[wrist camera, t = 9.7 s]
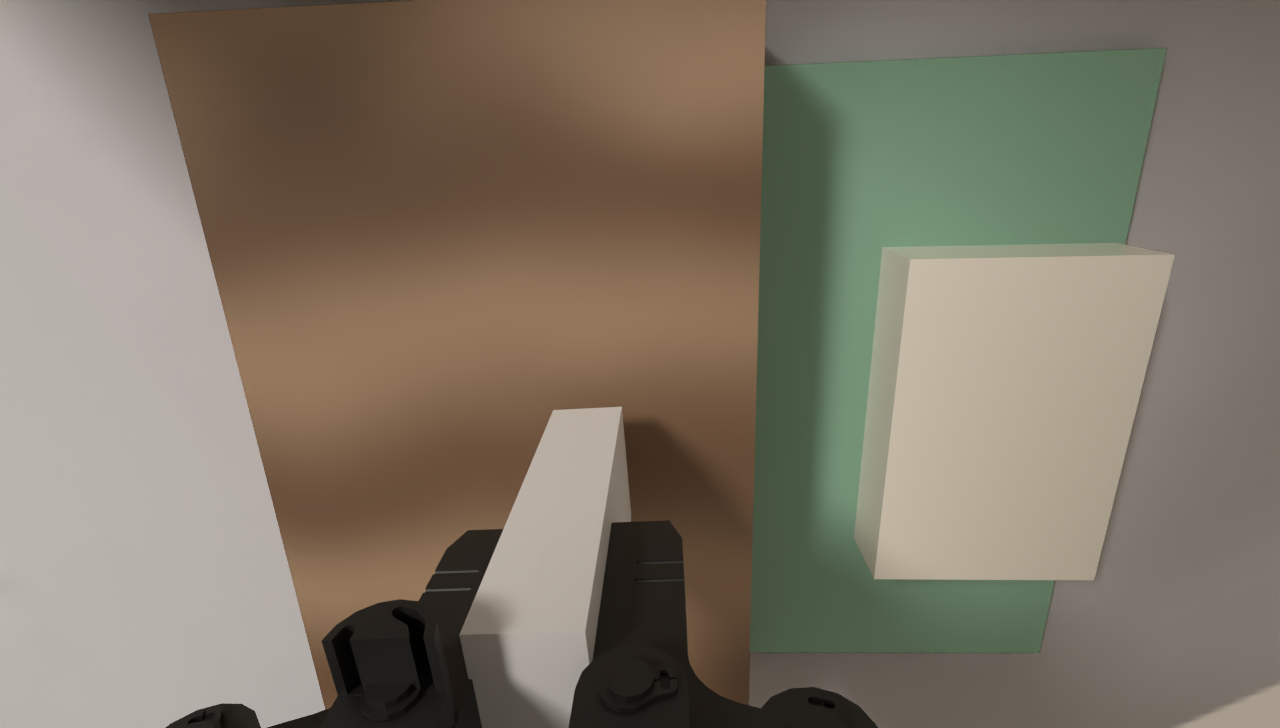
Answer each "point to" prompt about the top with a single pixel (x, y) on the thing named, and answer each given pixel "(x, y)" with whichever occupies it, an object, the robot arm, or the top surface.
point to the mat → (848, 290)
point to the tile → (1002, 406)
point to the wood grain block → (484, 272)
